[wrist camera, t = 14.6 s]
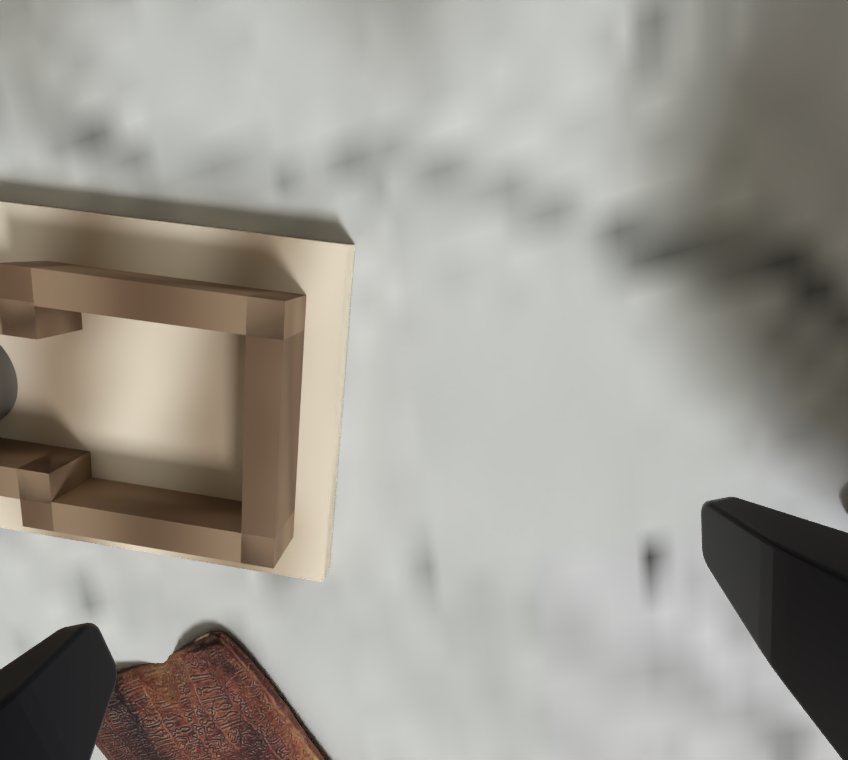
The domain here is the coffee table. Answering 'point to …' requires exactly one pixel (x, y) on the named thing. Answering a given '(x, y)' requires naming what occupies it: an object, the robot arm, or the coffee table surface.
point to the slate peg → (7, 384)
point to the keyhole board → (173, 387)
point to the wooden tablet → (201, 710)
